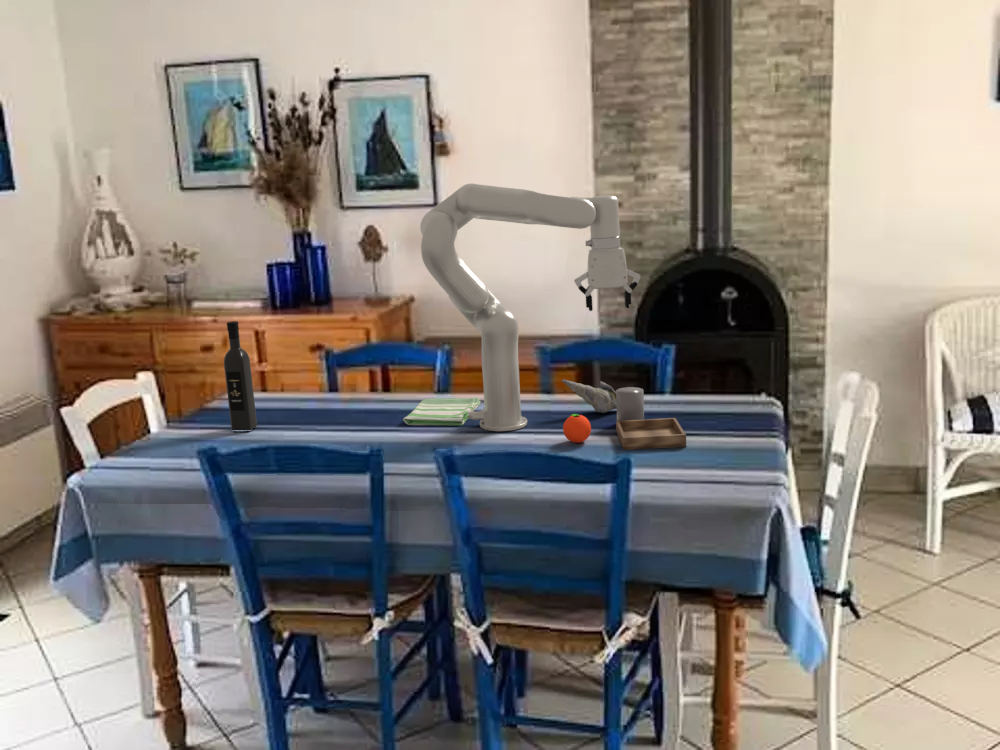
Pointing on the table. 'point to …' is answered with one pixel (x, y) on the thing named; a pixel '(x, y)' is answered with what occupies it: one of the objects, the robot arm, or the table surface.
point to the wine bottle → (239, 383)
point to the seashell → (595, 395)
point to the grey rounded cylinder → (630, 403)
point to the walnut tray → (650, 434)
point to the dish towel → (442, 411)
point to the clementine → (577, 428)
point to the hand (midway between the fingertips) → (608, 308)
